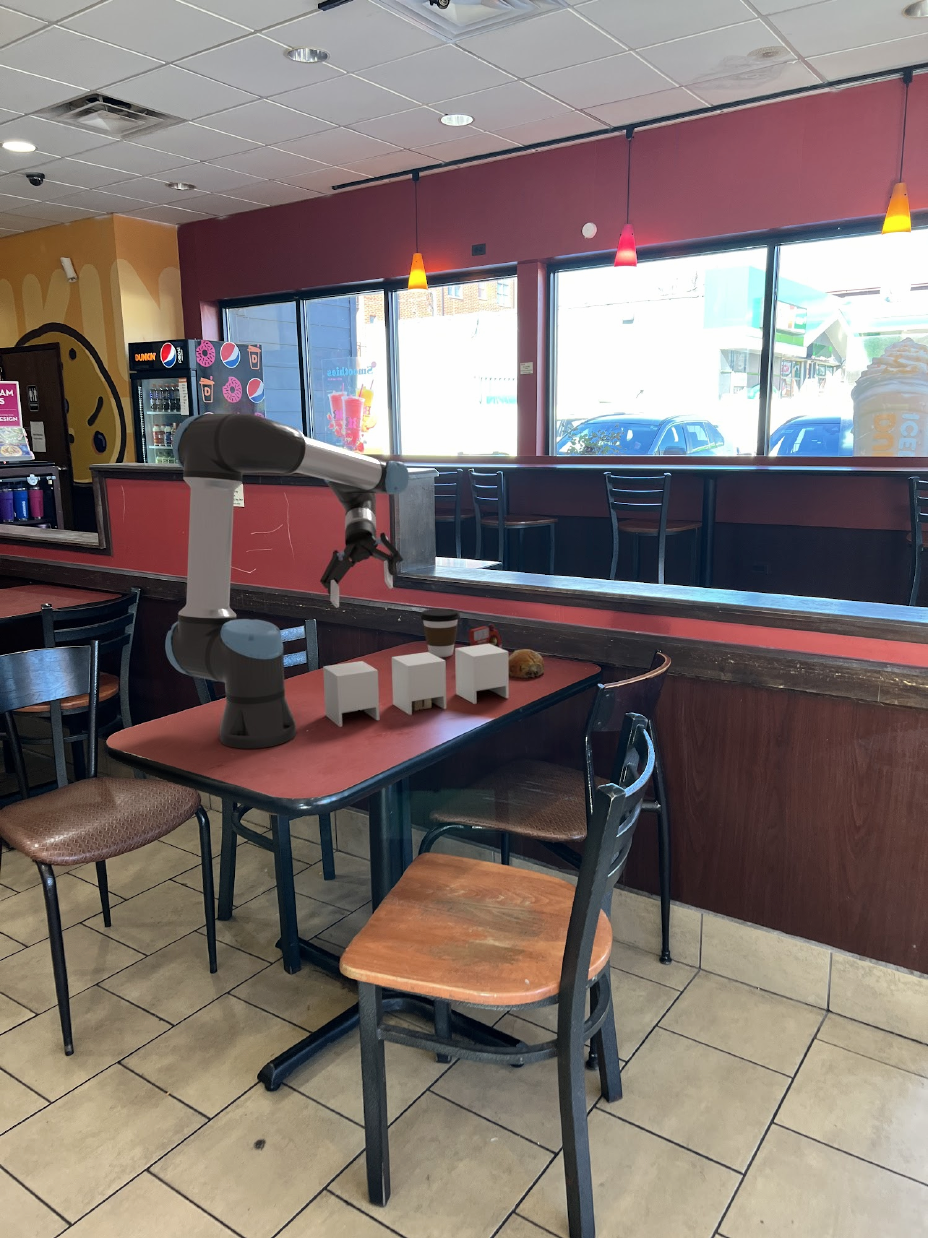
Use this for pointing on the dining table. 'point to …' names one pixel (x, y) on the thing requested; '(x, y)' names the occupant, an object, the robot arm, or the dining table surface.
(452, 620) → the coffee cup
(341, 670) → the matte white cube
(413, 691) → the tall off-white cuboid
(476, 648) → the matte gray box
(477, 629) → the toy fire truck
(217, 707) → the dining table surface
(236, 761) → the dining table surface
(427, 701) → the letter cube
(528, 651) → the bread roll
